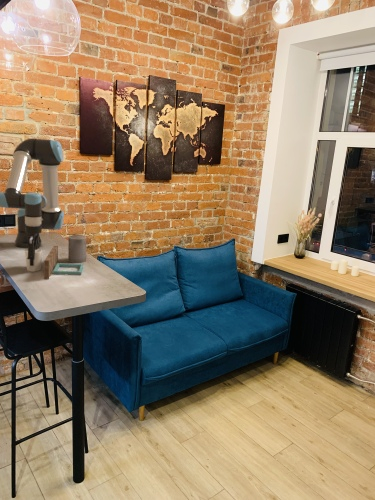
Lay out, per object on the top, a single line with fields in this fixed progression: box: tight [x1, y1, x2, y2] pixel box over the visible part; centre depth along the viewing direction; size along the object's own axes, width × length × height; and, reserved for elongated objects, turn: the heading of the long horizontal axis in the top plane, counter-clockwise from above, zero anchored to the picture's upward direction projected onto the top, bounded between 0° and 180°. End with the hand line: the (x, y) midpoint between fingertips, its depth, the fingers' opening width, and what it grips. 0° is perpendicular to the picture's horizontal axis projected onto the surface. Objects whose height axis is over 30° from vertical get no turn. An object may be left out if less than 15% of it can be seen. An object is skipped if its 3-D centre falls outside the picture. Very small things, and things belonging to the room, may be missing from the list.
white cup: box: [24, 248, 43, 272], centre depth 187 cm, size 8×8×10 cm
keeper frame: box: [52, 262, 84, 276], centre depth 191 cm, size 13×13×2 cm
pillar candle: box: [67, 234, 87, 264], centre depth 207 cm, size 10×10×15 cm
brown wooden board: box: [43, 245, 59, 280], centre depth 188 cm, size 28×2×9 cm, turn 10°
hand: (34, 268), depth 188 cm, fingers closed on white cup, 7 cm apart
